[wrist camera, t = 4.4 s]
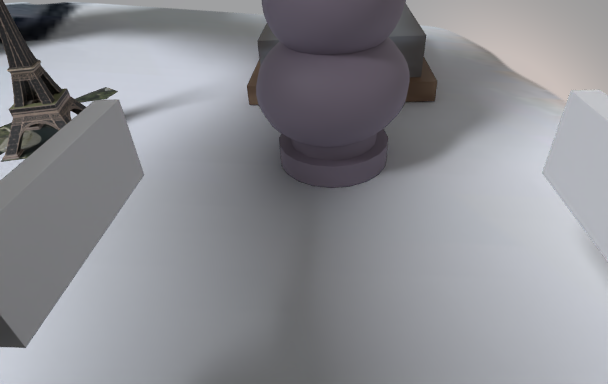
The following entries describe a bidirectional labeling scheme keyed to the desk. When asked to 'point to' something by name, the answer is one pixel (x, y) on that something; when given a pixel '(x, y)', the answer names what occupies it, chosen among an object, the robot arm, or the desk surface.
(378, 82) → the cat figurine
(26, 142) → the eiffel tower figurine
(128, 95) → the desk surface
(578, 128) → the robot arm
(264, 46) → the display plinth
